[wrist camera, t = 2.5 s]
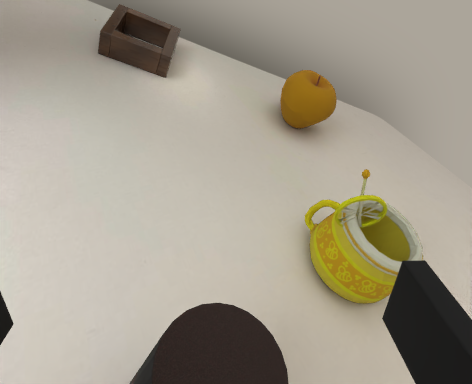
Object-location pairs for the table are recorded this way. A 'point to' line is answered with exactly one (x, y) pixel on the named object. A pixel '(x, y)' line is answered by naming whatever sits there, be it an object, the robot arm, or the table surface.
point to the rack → (135, 49)
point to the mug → (361, 246)
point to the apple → (307, 99)
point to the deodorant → (214, 350)
